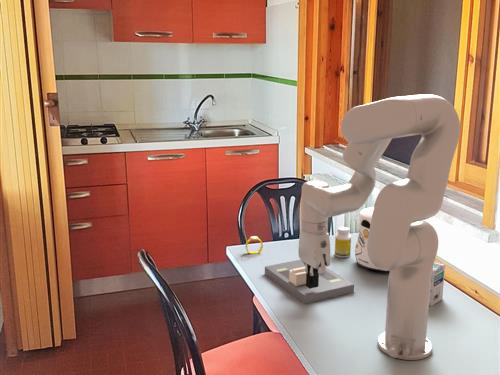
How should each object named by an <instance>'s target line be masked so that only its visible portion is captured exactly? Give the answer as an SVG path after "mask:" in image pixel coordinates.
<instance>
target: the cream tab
mask: <svg viewBox="0 0 500 375" xmlns="http://www.w3.org/2000/svg"><path fill="white" fill-rule="evenodd" d="M306 274H307V273H306V272H305V267H301V268H296V269H292V270H289V281H290V282H291V283H292V284H294V285H295V286H299V285H303V284H306Z"/></svg>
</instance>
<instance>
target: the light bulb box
mask: <svg viewBox="0 0 500 375" xmlns="http://www.w3.org/2000/svg"><path fill="white" fill-rule="evenodd" d="M445 268H446V264H445V263H441V262H437V261H435V262H434V265H433V270H432V277H431V287H430V297H429V306H431V307H432V306H435V305H436V304H437V303H439V302H440V301H442V300H443V296H444V284H445V283H444V281H445V271H446V270H445Z"/></svg>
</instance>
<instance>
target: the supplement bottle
mask: <svg viewBox="0 0 500 375" xmlns="http://www.w3.org/2000/svg"><path fill="white" fill-rule="evenodd" d="M350 230H351V229H350V227H347V226H339V227H337V233H336V234H335V237H334V238H335V240H334V256H335V257H337V258H342V259H345V258H349V257H350V256H351V247H352V246H351V245H352V236H351V234H350Z"/></svg>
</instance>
